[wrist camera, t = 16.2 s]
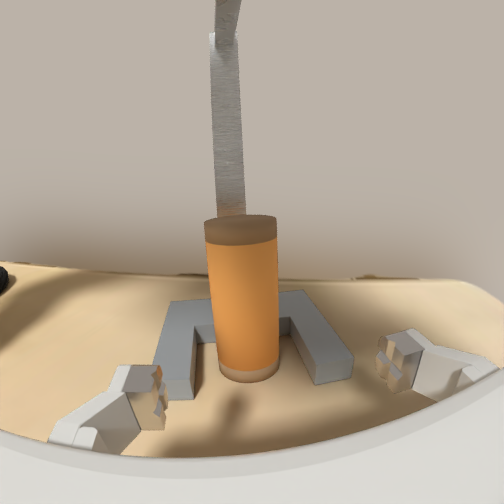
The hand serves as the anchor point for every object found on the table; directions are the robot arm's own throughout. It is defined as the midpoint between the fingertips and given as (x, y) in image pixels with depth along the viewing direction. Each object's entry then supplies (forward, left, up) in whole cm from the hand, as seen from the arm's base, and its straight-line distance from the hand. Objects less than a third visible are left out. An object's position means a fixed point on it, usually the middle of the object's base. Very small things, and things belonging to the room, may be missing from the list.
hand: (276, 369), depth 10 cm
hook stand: (0, +19, -8) cm, 21 cm away
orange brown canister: (0, +12, -8) cm, 15 cm away
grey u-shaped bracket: (0, +15, -8) cm, 17 cm away
